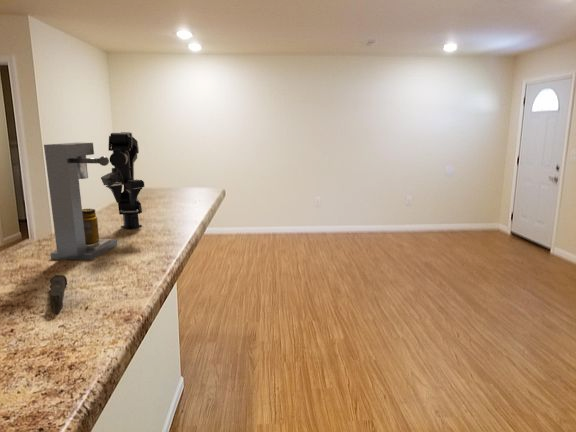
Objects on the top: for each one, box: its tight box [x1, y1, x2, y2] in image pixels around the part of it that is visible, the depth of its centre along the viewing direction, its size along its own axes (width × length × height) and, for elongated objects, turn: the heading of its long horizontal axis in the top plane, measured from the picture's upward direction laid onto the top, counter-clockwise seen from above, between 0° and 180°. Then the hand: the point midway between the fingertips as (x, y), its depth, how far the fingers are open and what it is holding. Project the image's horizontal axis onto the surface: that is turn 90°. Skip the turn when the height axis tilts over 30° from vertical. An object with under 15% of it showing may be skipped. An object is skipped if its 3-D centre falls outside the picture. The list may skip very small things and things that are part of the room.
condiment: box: [82, 208, 105, 246], centre depth 143 cm, size 7×8×12 cm
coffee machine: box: [43, 142, 118, 261], centre depth 138 cm, size 20×22×38 cm
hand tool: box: [49, 274, 68, 315], centre depth 103 cm, size 19×4×5 cm, turn 25°
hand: (125, 203), depth 162 cm, fingers open, 9 cm apart
